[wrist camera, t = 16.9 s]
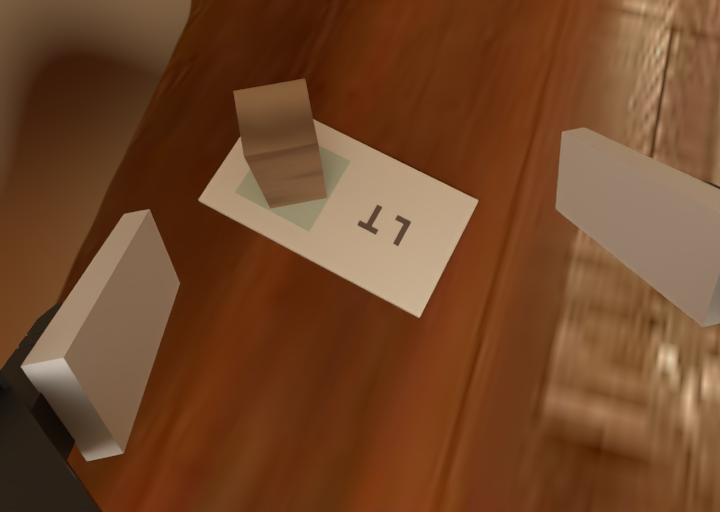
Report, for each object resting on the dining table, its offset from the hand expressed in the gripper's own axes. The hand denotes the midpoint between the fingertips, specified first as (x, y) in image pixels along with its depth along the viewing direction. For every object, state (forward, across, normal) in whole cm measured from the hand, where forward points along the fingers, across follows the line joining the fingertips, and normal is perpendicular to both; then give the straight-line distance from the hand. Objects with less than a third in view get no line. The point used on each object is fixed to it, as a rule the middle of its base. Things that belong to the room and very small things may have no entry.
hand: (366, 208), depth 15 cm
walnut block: (+34, -4, -11) cm, 36 cm away
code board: (+32, 0, -14) cm, 35 cm away
